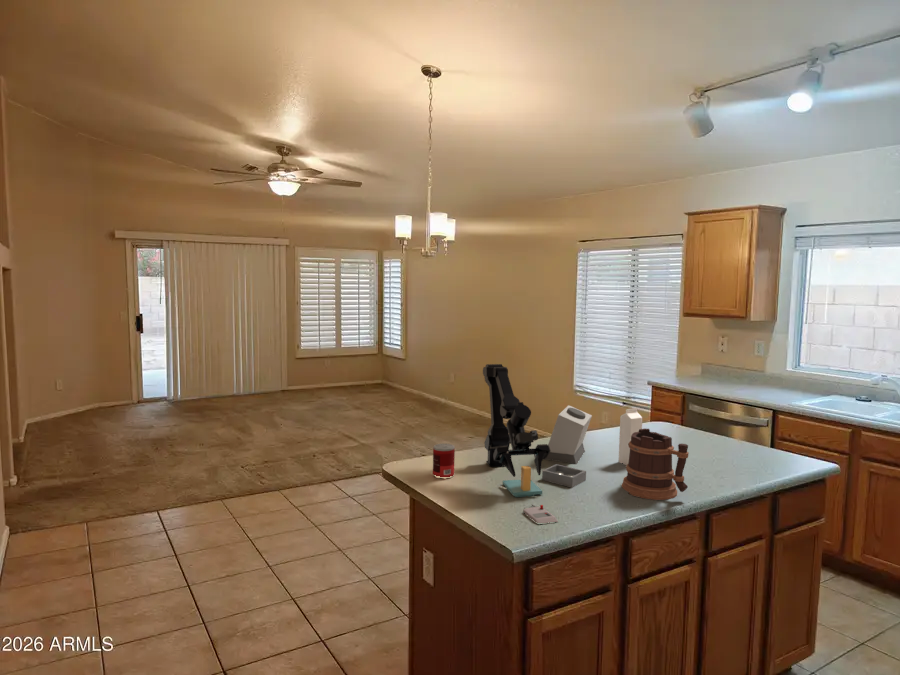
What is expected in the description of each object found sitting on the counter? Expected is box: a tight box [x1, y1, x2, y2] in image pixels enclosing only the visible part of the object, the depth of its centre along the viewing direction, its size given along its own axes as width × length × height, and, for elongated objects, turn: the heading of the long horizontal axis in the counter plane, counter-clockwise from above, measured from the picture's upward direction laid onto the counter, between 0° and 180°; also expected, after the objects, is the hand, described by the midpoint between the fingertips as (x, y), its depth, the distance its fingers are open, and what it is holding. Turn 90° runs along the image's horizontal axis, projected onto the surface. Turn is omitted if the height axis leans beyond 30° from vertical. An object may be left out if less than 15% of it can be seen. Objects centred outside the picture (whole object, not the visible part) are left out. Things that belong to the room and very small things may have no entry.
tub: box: [541, 463, 587, 488], centre depth 205 cm, size 12×10×4 cm
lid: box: [502, 465, 543, 498], centre depth 194 cm, size 12×10×10 cm
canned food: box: [432, 443, 456, 477], centre depth 209 cm, size 8×8×11 cm
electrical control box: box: [522, 504, 559, 523], centre depth 174 cm, size 7×16×3 cm, turn 20°
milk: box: [617, 407, 643, 466], centre depth 227 cm, size 6×6×22 cm
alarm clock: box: [544, 404, 593, 465], centre depth 236 cm, size 20×16×20 cm
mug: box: [621, 428, 690, 501], centre depth 196 cm, size 18×23×20 cm
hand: (527, 475), depth 189 cm, fingers open, 8 cm apart
